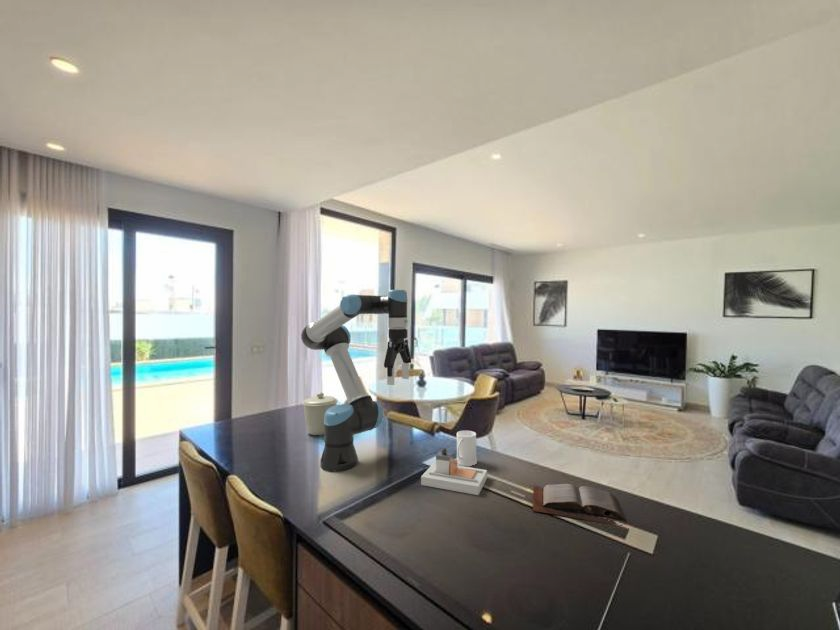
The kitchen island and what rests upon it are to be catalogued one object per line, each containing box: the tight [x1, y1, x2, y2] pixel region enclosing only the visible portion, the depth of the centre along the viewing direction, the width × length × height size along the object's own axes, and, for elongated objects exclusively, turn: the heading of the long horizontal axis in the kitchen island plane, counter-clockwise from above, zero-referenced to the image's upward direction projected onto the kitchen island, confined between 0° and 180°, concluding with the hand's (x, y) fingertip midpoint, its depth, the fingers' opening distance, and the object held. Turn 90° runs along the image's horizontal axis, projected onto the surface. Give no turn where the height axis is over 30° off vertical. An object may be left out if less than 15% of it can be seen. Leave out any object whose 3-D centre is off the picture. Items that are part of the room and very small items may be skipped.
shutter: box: [450, 458, 476, 479], centre depth 134 cm, size 8×7×4 cm
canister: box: [301, 391, 339, 436], centre depth 193 cm, size 18×18×21 cm
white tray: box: [420, 461, 488, 496], centre depth 136 cm, size 21×14×4 cm, turn 68°
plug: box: [435, 447, 453, 475], centre depth 137 cm, size 5×4×11 cm
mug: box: [456, 430, 478, 467], centre depth 152 cm, size 12×8×12 cm
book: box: [532, 483, 628, 527], centre depth 120 cm, size 20×28×4 cm
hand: (398, 381), depth 147 cm, fingers open, 13 cm apart
